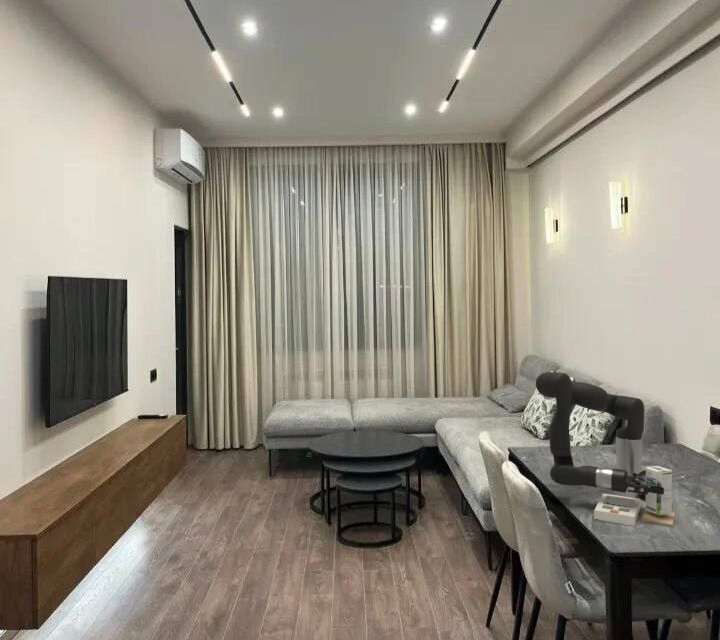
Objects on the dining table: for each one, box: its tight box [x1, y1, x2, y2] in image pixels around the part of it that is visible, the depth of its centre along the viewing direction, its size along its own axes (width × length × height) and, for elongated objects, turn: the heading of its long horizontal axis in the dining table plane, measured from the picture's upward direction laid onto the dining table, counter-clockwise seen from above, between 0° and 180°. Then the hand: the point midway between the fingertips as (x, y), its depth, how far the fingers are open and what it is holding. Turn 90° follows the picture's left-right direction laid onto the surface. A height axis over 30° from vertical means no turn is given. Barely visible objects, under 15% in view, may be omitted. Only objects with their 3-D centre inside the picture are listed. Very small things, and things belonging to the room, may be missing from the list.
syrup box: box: [644, 465, 673, 515], centre depth 189 cm, size 6×6×14 cm
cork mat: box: [640, 509, 676, 527], centre depth 190 cm, size 14×9×1 cm, turn 148°
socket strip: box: [593, 493, 642, 527], centre depth 194 cm, size 18×12×4 cm, turn 148°
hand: (665, 487), depth 188 cm, fingers closed on syrup box, 8 cm apart
